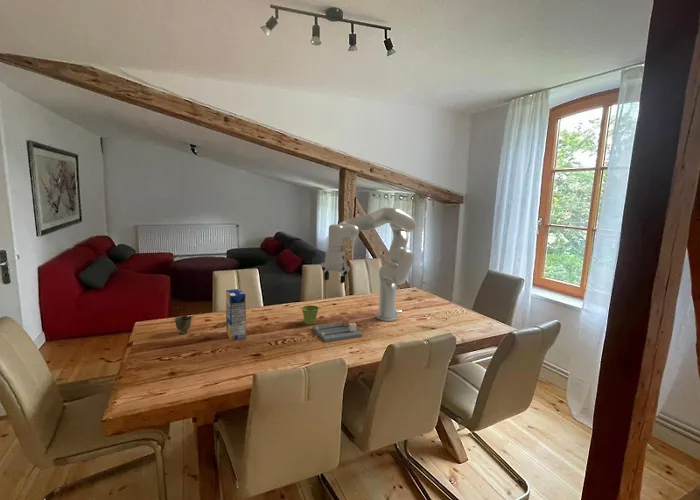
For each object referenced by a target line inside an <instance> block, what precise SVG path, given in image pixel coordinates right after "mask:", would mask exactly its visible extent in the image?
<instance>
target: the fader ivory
mask: <svg viewBox="0 0 700 500" xmlns="http://www.w3.org/2000/svg"><path fill="white" fill-rule="evenodd" d="M356 329H357V324H356V323H355V322H349V330H350V331H356Z"/></svg>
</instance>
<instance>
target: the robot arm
mask: <svg viewBox="0 0 700 500" xmlns="http://www.w3.org/2000/svg"><path fill="white" fill-rule="evenodd" d="M385 224H389V226H390V228H391V231H392V234H393V239H392V241H391V244H390V247H389V250H388V253H387V260H388V262H390V263H392V264H390V263H389V264H388V263H387V264H386V263H385V264H383V265H382V266H380V268H379V270H378V276H379V298H378V299H379V301H378V312H377V313H376V314H375V318H376V319H377V320H378V321H379V320H380V321H384V322H394V321H397V320H398V315H401V314H402V313H403V311H402V310H401V309H399V310H398V309H396V306H397V305H396V302H397V301H396V300H397V285H398V286H399V285H403V284H405V282H406V281H407V279H408V276H409V274H410V271H411V269H412V265H413V262H414V254H413V252H412V251H411V250H410V249H408V248H407V246H408V245H407V244H408V241H409V237H408V234H407V233H412V232H413V231H414V230H415V228H416V225H417V223H416V220H415V218H413V217H412V216H410V215H409V214H408V213H405V212H404V211H402V210H401V209H398V208H394V207H382V208H380V209H378V210H375V211H373V212H370V213H367V214H364V215H360V216H356V217H352V218H349V219H346V220H344V221H341V222H339V223H338V224H330V225H329V226H328V243H327V244H328V245H327V246H328V247H327V249H328V250H327V251H326V255H325V261H324V262H321V263H320V267H321V270H322V271H323V273H324V275H323V276H324V278H323V279H324V281H328V280H330V272H331V271H333V272H338V273H340V275H341V276H340V280H339V281H340V284H344V283H345V282H346V276H347V274H349V271H350V269H351V267H350V266H348V265H347V264H346V255H345V250H346V248H345V247H344V239H345V240H346V239H347V240H354V239H356V238H357V237H359V234H360V231H371V230H374V229H376V228H379V227H381V226H384V225H385ZM393 264H396V265H393ZM329 271H330V272H329Z"/></svg>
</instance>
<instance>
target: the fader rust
mask: <svg viewBox="0 0 700 500" xmlns="http://www.w3.org/2000/svg"><path fill="white" fill-rule="evenodd" d="M341 319H342V322H341V323H342V325H343V326H348V325H349V323H350V318H349V317H343V318H341Z"/></svg>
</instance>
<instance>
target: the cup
mask: <svg viewBox="0 0 700 500" xmlns="http://www.w3.org/2000/svg"><path fill="white" fill-rule="evenodd" d="M174 321H175V327H176V330H177V331H179V334H181V335H185V334H187V333H188V331H189V329H190V328H191V325H192V316H191V315H189V316H188V315H185V314H184V315H180V316H176V317H175V318H174Z"/></svg>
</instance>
